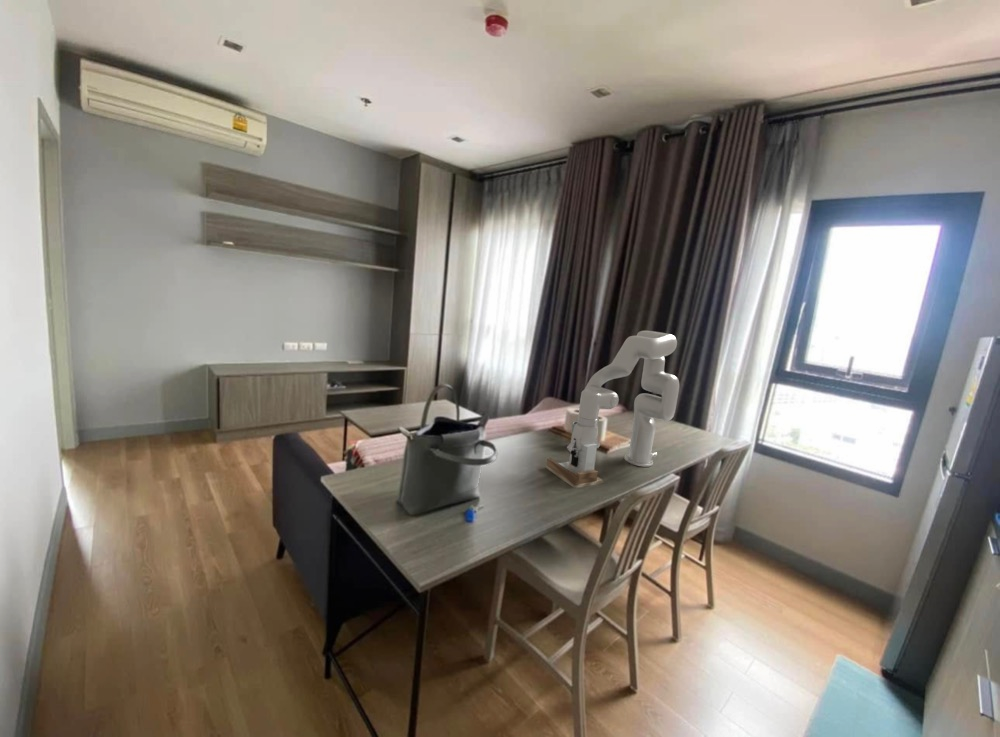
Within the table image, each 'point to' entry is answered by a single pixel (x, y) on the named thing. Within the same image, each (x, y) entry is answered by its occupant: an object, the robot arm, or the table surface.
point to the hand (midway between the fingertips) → (581, 464)
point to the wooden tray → (571, 478)
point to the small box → (584, 459)
